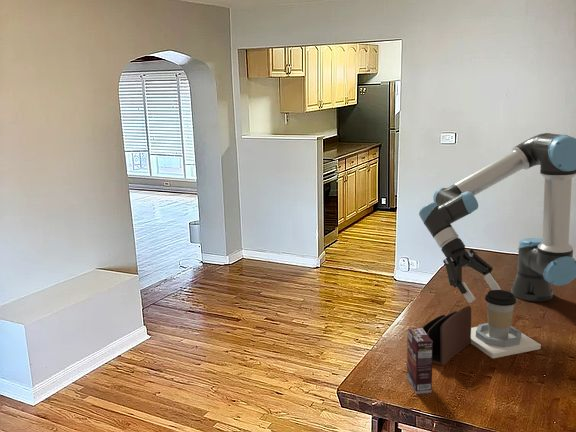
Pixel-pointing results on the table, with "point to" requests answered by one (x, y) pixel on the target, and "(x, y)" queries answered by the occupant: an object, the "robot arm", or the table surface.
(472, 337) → the dock board
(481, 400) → the table surface
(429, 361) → the supplement box
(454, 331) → the letter holder
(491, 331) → the coffee cup
